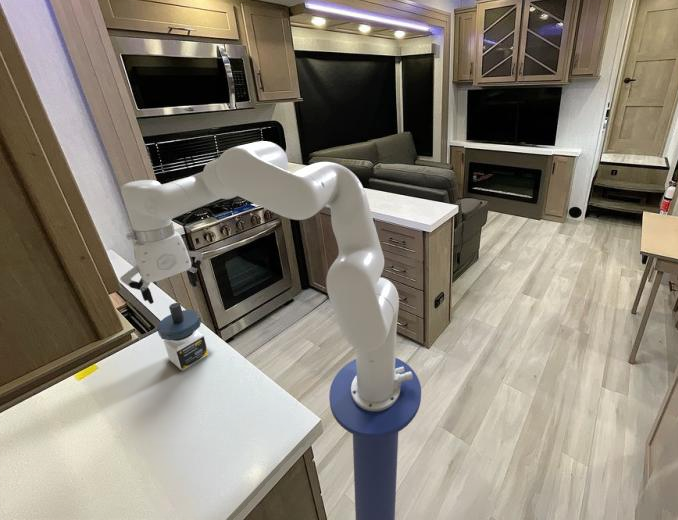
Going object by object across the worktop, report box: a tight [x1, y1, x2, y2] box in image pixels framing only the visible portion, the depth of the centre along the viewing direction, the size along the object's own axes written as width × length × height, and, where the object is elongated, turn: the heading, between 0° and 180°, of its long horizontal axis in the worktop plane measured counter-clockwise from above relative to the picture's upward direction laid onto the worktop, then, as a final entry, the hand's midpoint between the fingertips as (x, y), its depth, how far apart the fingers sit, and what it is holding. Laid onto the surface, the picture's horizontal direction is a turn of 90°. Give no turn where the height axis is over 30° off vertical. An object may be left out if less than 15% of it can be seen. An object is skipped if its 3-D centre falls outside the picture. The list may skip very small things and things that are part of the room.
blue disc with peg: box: [156, 302, 202, 340], centre depth 85 cm, size 9×9×7 cm
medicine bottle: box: [163, 329, 209, 371], centre depth 88 cm, size 7×7×12 cm
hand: (172, 292), depth 82 cm, fingers open, 9 cm apart
